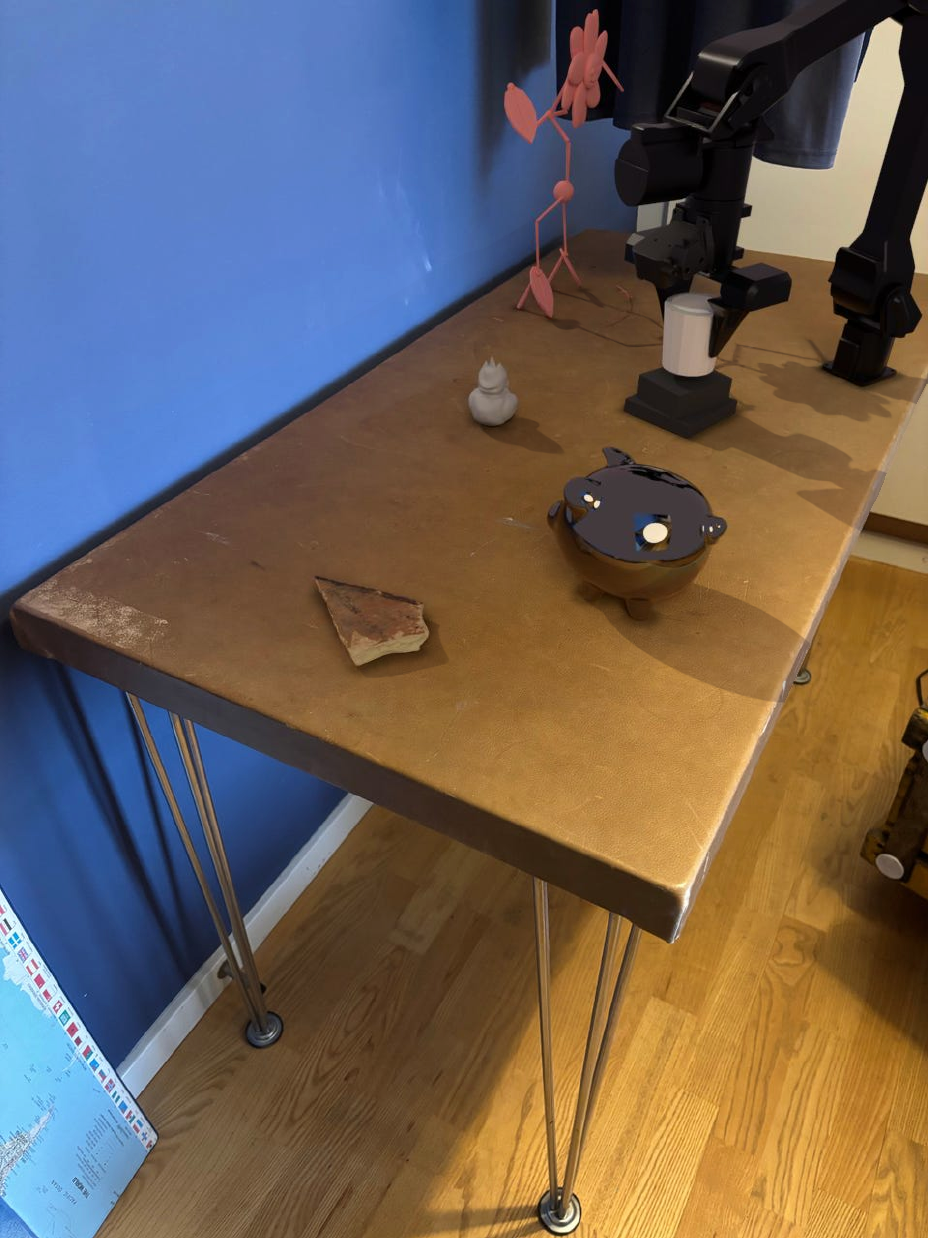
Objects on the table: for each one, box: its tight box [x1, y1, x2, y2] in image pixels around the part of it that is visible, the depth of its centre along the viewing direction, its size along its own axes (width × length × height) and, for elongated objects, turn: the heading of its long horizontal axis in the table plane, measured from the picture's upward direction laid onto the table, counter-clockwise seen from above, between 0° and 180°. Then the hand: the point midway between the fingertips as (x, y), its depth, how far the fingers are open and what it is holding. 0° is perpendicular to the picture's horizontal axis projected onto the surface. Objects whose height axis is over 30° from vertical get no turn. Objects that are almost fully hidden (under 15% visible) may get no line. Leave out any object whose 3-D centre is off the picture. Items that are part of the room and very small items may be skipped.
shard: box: [314, 575, 430, 667], centre depth 75 cm, size 11×8×2 cm
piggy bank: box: [546, 446, 728, 621], centre depth 75 cm, size 11×15×12 cm
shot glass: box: [661, 292, 718, 376], centre depth 98 cm, size 7×7×7 cm
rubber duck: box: [468, 355, 519, 427], centre depth 100 cm, size 5×7×8 cm
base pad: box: [623, 392, 739, 439], centre depth 104 cm, size 9×9×2 cm
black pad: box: [635, 366, 733, 419], centre depth 102 cm, size 8×6×3 cm
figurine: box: [493, 9, 633, 324], centre depth 118 cm, size 15×26×35 cm, turn 151°
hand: (691, 346), depth 99 cm, fingers closed on shot glass, 6 cm apart
